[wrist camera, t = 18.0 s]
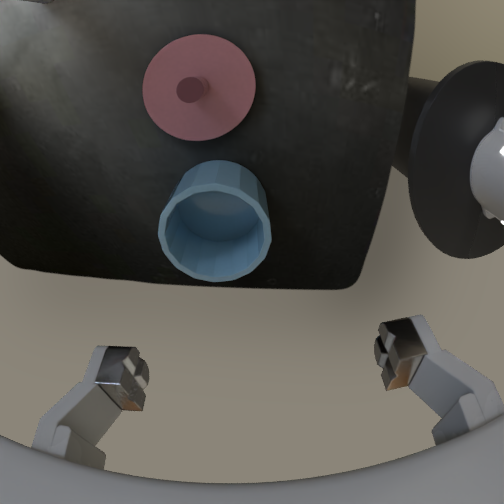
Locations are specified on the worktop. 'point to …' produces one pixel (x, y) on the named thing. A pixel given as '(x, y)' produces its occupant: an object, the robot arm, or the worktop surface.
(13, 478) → the robot arm
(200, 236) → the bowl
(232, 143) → the worktop surface
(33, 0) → the energy drink
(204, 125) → the cover plate
